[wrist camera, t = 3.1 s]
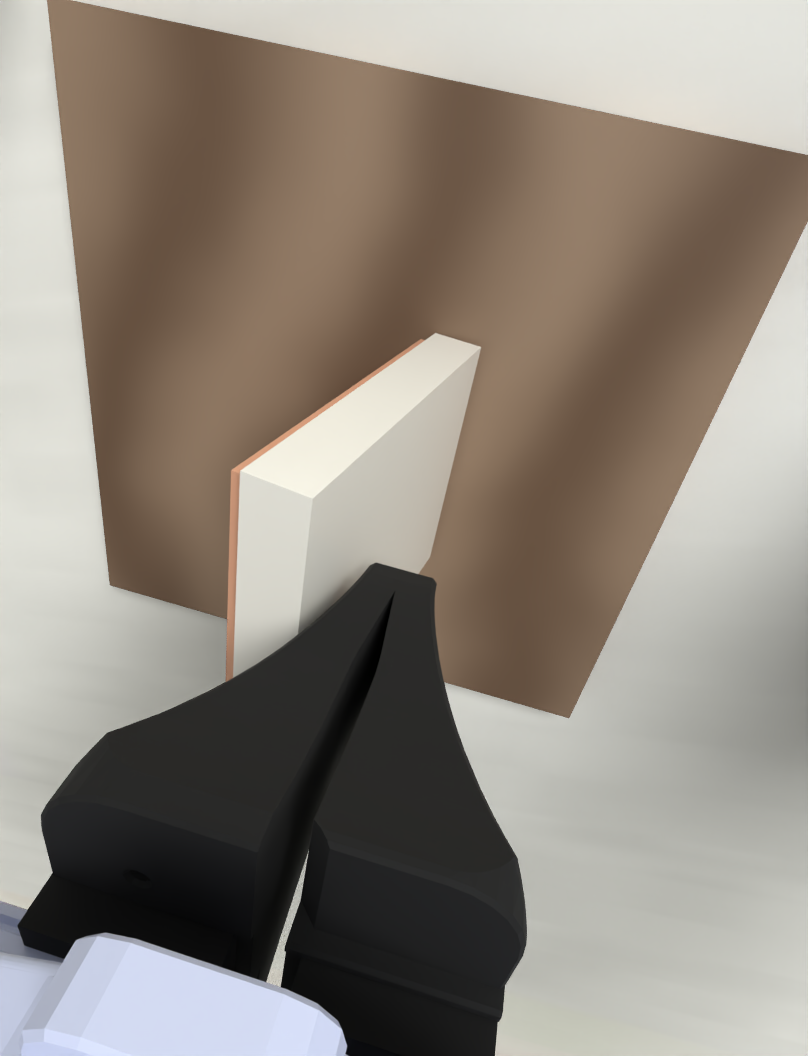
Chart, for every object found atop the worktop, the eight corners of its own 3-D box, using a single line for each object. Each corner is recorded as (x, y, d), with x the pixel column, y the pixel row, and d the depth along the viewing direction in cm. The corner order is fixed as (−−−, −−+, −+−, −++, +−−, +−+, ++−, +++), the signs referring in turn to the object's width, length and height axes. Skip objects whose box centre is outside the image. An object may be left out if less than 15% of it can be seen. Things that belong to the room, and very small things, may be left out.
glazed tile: (481, 347, 17) (312, 498, 10) (429, 557, 21) (282, 772, 14) (425, 329, 18) (223, 464, 10) (384, 539, 22) (219, 741, 14)
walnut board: (821, 158, 15) (835, 161, 14) (569, 697, 25) (569, 718, 24) (73, 1, 16) (46, -5, 15) (124, 570, 26) (109, 585, 25)
